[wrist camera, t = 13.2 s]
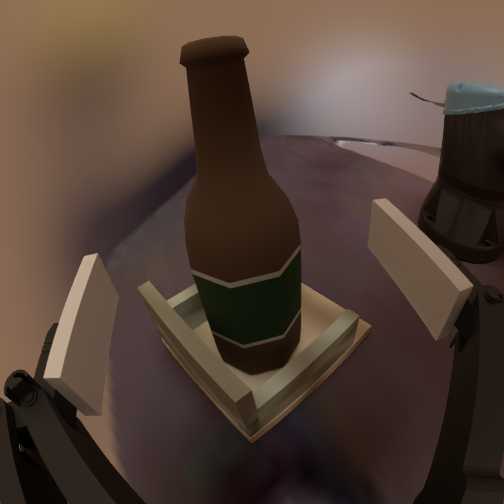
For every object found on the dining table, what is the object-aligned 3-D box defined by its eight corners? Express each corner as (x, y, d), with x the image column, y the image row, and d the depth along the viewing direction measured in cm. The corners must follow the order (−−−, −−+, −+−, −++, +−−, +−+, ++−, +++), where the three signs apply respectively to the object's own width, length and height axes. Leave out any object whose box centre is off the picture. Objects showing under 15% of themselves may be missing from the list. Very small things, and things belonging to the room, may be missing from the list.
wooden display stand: (274, 273, 36) (268, 213, 31) (369, 333, 27) (385, 269, 22) (165, 345, 29) (135, 287, 24) (251, 443, 20) (235, 404, 15)
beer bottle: (201, 336, 28) (122, 62, 14) (266, 298, 31) (233, 42, 17) (248, 394, 22) (166, 36, 8) (318, 343, 26) (318, 29, 11)
